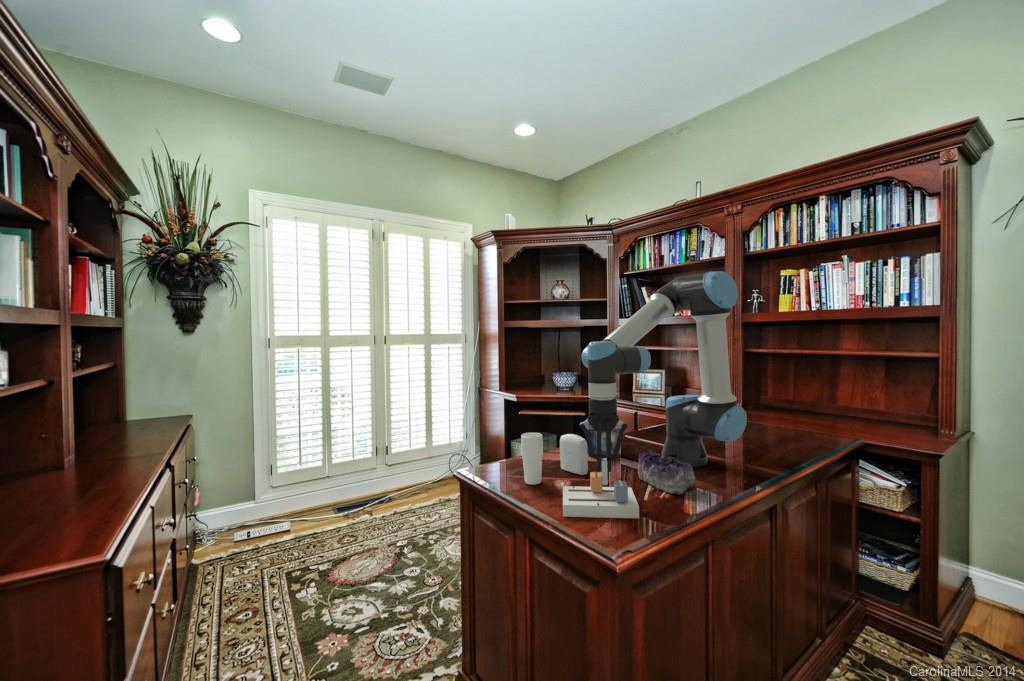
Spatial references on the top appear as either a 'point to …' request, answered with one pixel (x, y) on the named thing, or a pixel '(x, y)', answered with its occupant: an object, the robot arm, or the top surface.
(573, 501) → the fader console
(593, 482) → the orange fader
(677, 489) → the geode
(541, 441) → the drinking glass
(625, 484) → the slate fader
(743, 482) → the top surface
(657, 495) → the top surface
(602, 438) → the small box
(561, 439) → the white slotted device
